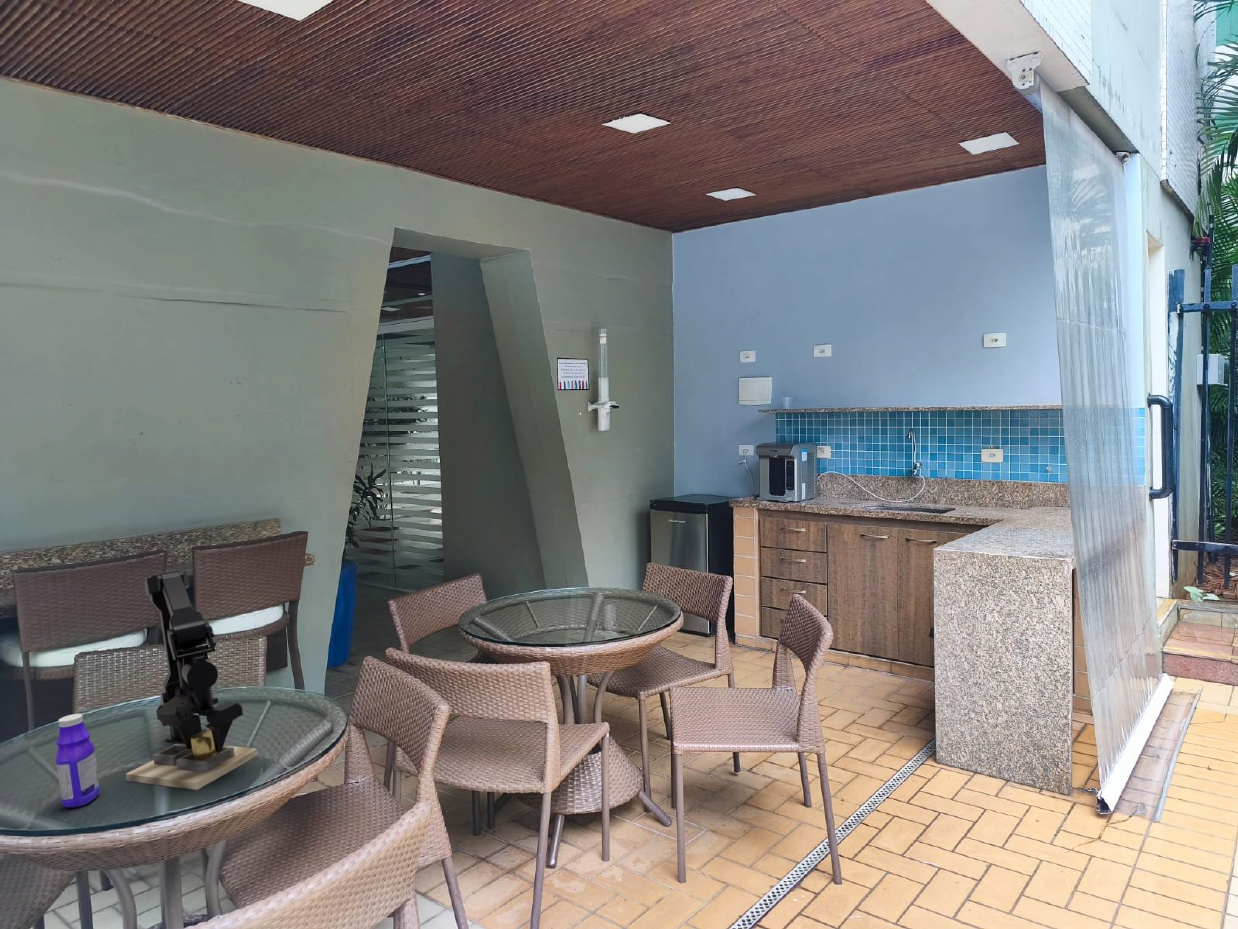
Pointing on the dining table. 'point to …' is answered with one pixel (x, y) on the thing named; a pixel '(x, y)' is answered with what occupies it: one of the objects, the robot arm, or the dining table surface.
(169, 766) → the board
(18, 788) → the dining table surface
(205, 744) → the cylinder
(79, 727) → the bottle
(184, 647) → the robot arm
